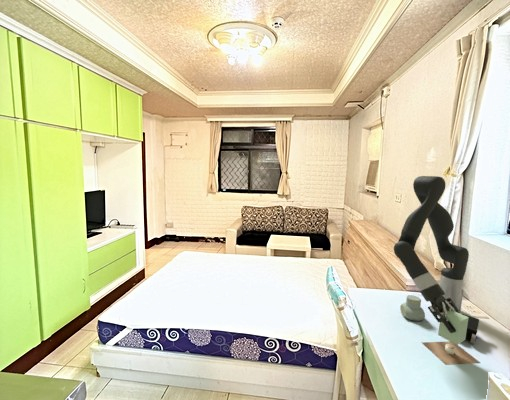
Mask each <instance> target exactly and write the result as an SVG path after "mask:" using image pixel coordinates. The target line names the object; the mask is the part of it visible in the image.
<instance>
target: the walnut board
mask: <svg viewBox="0 0 510 400" xmlns="http://www.w3.org/2000/svg"><path fill="white" fill-rule="evenodd" d="M421 344H422V345H423V346H424V347H426V348H427V349H428V350H429V351H430V352H431V353H432V354H434V356H435V357H436V358H438V359H439V360H440V361H441V362H442V363H443V364H444V365H445V366H447V365H449V366H450V365H467V364H469V365H470V364H471V365H472V364H481V361H479V360H478V359H476V358H475V357H474V356H472V355H471V354H470V353H469V352H467V350H465V349H464V348H462V347H461V346H460V345H459V344H458V345H456V344H454V343H453V342H451V341H449V340H447V341H430V342H429V341H425V342H424V341H423V342H422V341H421ZM446 344H449V345H452V346H454V347H455V353H454V355H450V354H448V353H446V352H445V345H446Z"/></svg>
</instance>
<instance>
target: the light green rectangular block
mask: <svg viewBox="0 0 510 400" xmlns="http://www.w3.org/2000/svg"><path fill="white" fill-rule="evenodd" d="M442 313H443V312H442ZM447 313H448V315H446V316H447V317H448V319H449V321H450V322H451V324H452V325H453V327H454V328H455V329H456V332H454V333H450V332H449V331H448V329H447V328H446V326H445V325H444V323H442V322H439V326H438V333H437V335H438V337H441V338H443V339H445V340H447V341H451V342H453V343H454V344H456V345H458V346H459V344H461V343H462V342H464V341H465V340H466V339H465V338H466V331H467V325H468V319H469V317H467V316H464V315H462V314H463V313H457V312H455V311H454V312H453V311H450V310H449V311H447ZM443 317H444V315H443ZM444 318H445V317H444Z"/></svg>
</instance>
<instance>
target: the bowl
mask: <svg viewBox="0 0 510 400" xmlns="http://www.w3.org/2000/svg"><path fill="white" fill-rule="evenodd" d="M445 352H446V353H448V354H450V355H454V353H455V347H454V346H452V345H449V344H446V345H445Z"/></svg>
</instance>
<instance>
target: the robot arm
mask: <svg viewBox="0 0 510 400" xmlns="http://www.w3.org/2000/svg"><path fill="white" fill-rule="evenodd" d="M412 185H413V186H412V187H413V191H414V194H415V196H416V198H417V199H418V201H419V204H420V205H419V206H418V207H417V208H416V209H414V211H412V212H411V213H410V214H409V215H408V217H407V218H406V219H405V222H404V224H403V226H402V227H401V228H402V229H401V232H400V237H399V239H398V241H397V242H396V243H395V244H394V246H393V251H394V255H395V256H396V257H397V258H398V259H399V261H400V262H401V263H402V265H403V266H404V268H405V270H406V272H407V273H408V275H409V277H410V278H411V279H412V281H413V283H414V284H415V287H416V288H417V290H418V291H419V293H420V294H421V296H422V297H423V299H424V300H425V301H426V302H430V304H431V305H428V307H427V309H428V311H429V312H430V313H431V314H432V316H433V317H434V319H435V320H436V321H437V323H440V322H442V323H444V325H445V326H446V328H447V329H448V331H449V332H450V333H454V332H456V329H455V328H454V327H453V325H452V324H451V322H450V321H449V319H448V317H447V316H446V315H448V313H447V311H449V310H450V311H453V312H454V311H455V312H457V313H460V312H461V311H462V303H463V297H464V294H463V292H462V290H463V289H462V288H463V284H464V278H465V274H466V270H467V266H468V262H469V256H470V255H469V254H470V253H469V250H468V248H466V247H463V246H460V245H455V244H452V243H451V242H450V240H449V236H450V235H451V234H452V232H453V231H454V227H455V226H454V221H453V219H452V216H451V213H450V212H449V211H448V210H447V209H446V208H445V207H444V206H442V204H441V203H439V201H440V199H441V198H442V196H443V195H444V192H445V191H446V181H445V178H443V177H441V176H438V175H437V176H436V175H434V176H433V175H432V176H431V175H421V176H417V177H416V178H414V181H413V184H412ZM427 221H428V224H429V227H430V229H431V231H432V234H433V237H434V240H435V243H436V248H437V252H438V254H439V255H438V256H439V257H440V259H441V260H442V261H444V262H447V263H450V264H452V267H443V268H442V269H441V270H440V271H441V272H440V278H439V283H438V281H437V280H436V279H435V277H434V276H433V275H432V273H430V272H429V269H428V268H427V267H426V266H425V264H424V263H423V262H422V261H421V259H420V257H419V256H418V254H417V252H416V251H415V248H416V244H417V241H418V239H419V237H420V235H421V234H422V231H423V229H424V226H425V224H426V222H427ZM442 312H443V313H442ZM460 314H461V313H460ZM443 315H444V317H445V318H444V317H443Z"/></svg>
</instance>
